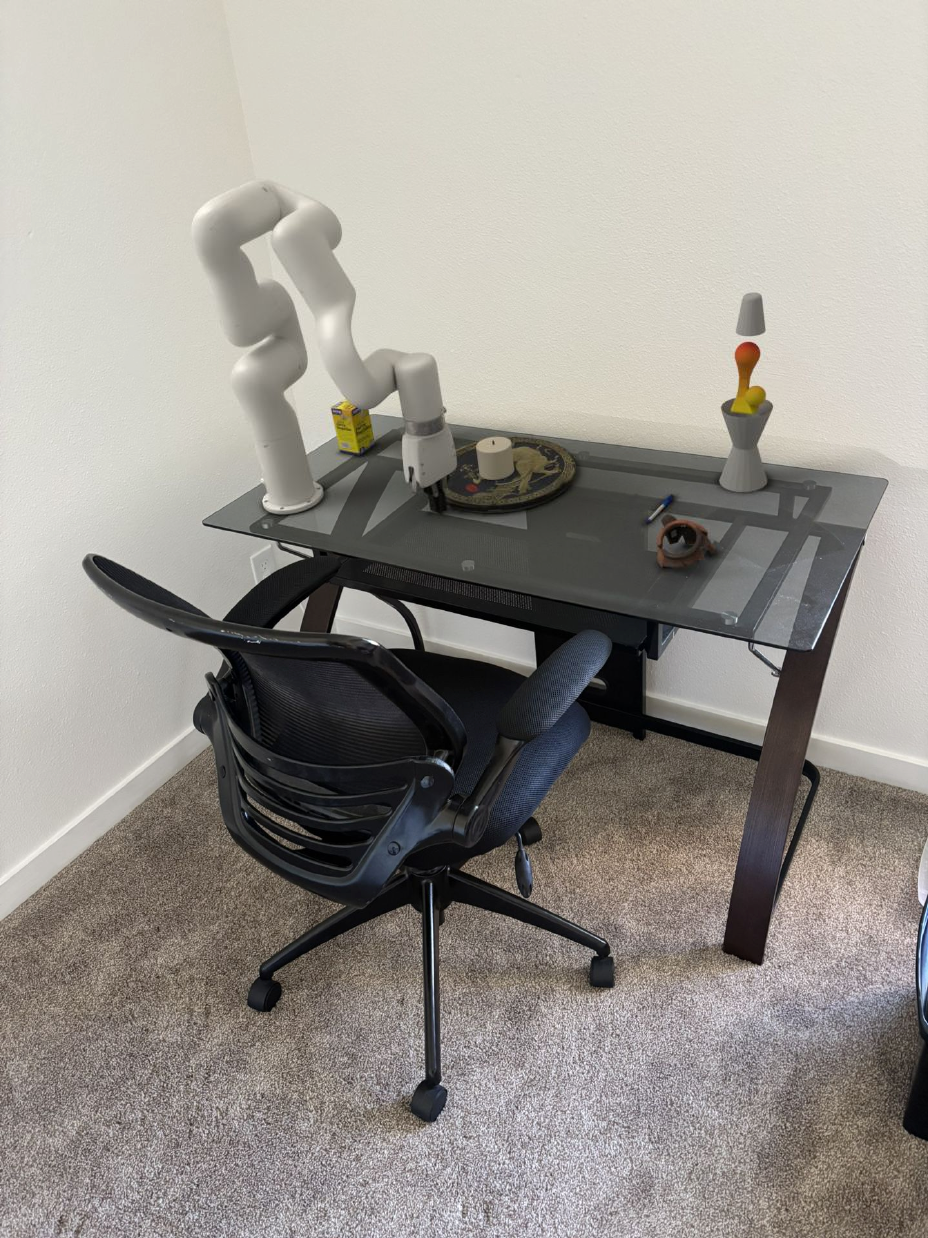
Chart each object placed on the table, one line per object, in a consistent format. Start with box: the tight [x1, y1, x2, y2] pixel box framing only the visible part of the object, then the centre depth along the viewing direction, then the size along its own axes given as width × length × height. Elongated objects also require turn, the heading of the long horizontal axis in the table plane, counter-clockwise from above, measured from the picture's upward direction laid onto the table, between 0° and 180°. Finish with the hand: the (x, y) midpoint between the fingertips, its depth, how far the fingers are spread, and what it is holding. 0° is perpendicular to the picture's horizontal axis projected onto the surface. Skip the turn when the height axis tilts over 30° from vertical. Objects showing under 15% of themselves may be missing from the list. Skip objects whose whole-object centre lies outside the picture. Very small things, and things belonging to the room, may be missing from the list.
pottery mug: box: [656, 513, 714, 568], centre depth 158 cm, size 12×10×8 cm
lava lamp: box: [719, 292, 774, 493], centre depth 167 cm, size 9×9×35 cm
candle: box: [476, 436, 514, 480], centre depth 187 cm, size 7×7×7 cm
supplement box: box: [330, 397, 376, 457], centre depth 208 cm, size 6×6×11 cm
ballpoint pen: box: [646, 493, 675, 524], centre depth 173 cm, size 10×1×1 cm, turn 146°
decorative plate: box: [429, 436, 577, 514], centre depth 191 cm, size 30×2×30 cm
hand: (439, 510), depth 182 cm, fingers closed
